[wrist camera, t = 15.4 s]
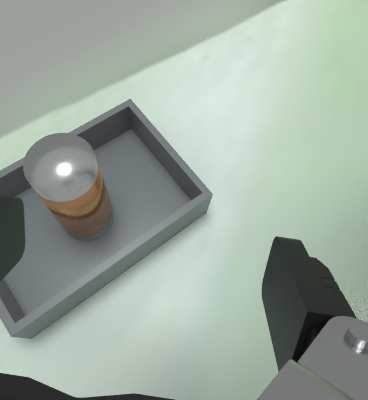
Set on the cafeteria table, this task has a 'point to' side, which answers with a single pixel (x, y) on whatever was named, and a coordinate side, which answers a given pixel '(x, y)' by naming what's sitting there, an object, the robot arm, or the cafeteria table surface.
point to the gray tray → (118, 232)
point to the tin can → (70, 184)
